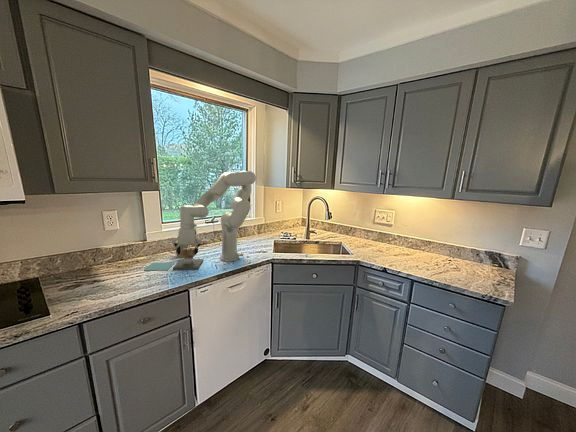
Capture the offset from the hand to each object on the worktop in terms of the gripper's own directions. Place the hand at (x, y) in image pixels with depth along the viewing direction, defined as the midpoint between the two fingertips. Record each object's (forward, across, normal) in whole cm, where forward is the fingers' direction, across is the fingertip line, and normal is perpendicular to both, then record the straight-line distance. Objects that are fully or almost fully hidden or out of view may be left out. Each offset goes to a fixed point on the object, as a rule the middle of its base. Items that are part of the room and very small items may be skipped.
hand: (187, 253), depth 146 cm
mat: (+8, +15, +1) cm, 17 cm away
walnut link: (+2, 0, 0) cm, 2 cm away
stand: (+7, -1, 0) cm, 8 cm away
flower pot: (+8, +8, -17) cm, 21 cm away
